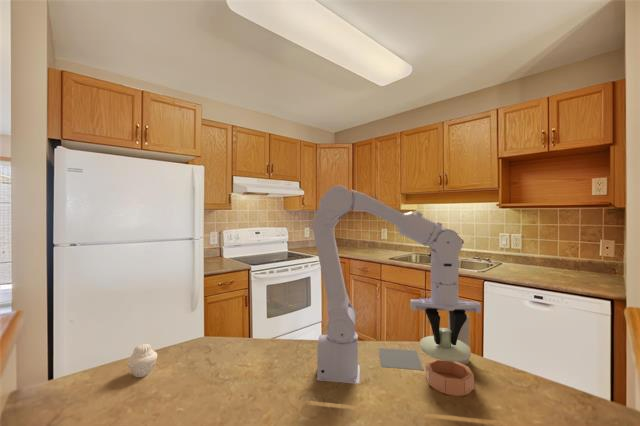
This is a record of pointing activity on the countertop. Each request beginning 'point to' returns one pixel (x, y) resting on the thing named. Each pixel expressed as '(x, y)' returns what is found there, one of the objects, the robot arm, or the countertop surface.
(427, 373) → the bowl
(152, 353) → the muffin
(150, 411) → the countertop surface
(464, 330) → the beverage can
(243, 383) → the countertop surface
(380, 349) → the mat
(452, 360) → the lid
